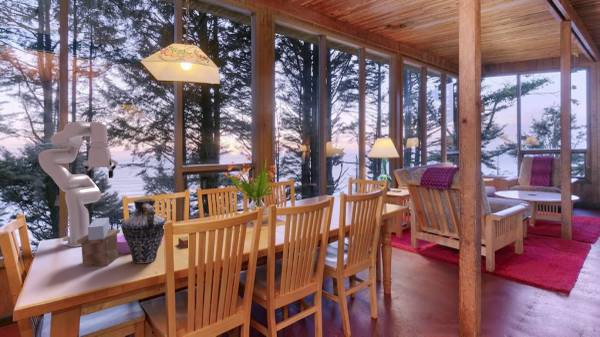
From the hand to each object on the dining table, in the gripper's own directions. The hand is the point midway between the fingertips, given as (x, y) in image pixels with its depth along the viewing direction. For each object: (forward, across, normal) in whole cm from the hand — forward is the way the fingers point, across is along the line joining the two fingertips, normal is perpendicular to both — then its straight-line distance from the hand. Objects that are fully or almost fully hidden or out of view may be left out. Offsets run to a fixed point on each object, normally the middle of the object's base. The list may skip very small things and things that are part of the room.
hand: (101, 178), depth 178 cm
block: (+25, +8, -21) cm, 33 cm away
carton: (+39, +46, +5) cm, 61 cm away
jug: (+38, +29, -21) cm, 53 cm away
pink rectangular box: (+39, +18, 0) cm, 42 cm away
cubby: (+38, +8, -21) cm, 44 cm away
